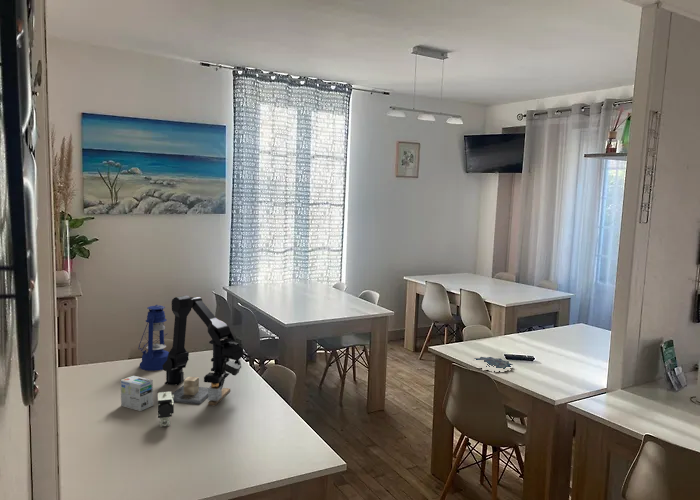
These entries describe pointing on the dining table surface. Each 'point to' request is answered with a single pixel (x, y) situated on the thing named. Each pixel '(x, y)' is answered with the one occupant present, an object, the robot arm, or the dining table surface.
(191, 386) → the housing block
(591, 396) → the dining table surface
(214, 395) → the grey and brass block
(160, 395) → the pneumatic valve
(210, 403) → the press bed
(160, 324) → the lantern
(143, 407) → the light bulb box
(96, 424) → the dining table surface
